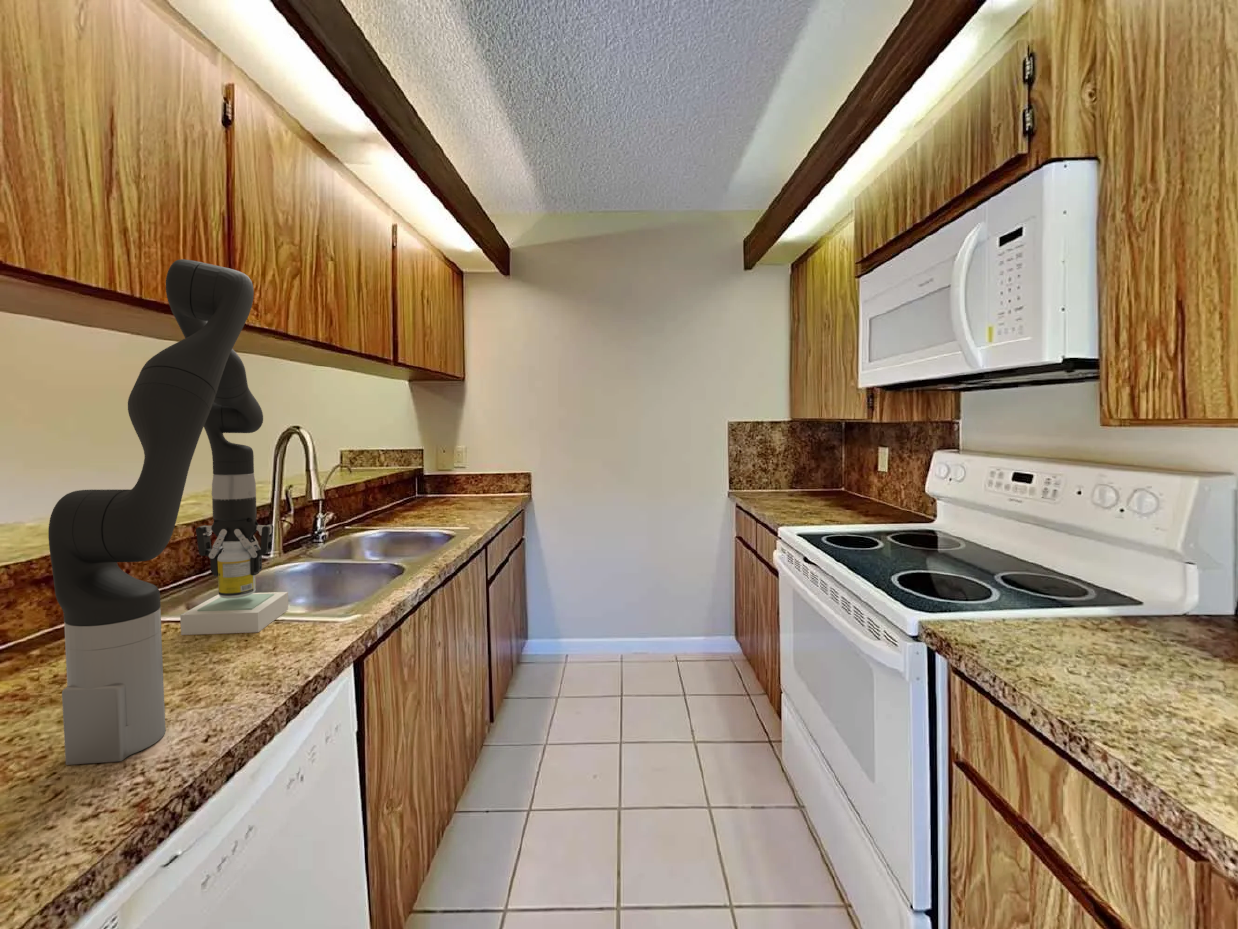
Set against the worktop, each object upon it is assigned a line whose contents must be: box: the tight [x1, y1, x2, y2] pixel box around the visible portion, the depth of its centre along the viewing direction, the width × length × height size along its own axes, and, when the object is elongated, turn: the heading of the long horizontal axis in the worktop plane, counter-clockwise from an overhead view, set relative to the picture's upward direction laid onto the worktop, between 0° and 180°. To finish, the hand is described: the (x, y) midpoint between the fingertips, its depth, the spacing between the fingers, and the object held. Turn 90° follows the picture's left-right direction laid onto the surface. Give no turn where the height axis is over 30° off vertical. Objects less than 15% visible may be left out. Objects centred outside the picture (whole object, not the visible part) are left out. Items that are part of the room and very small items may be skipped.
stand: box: [179, 591, 289, 636], centre depth 118 cm, size 14×14×4 cm
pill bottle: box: [217, 541, 257, 598], centre depth 118 cm, size 6×6×12 cm
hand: (236, 574), depth 118 cm, fingers closed on pill bottle, 6 cm apart
